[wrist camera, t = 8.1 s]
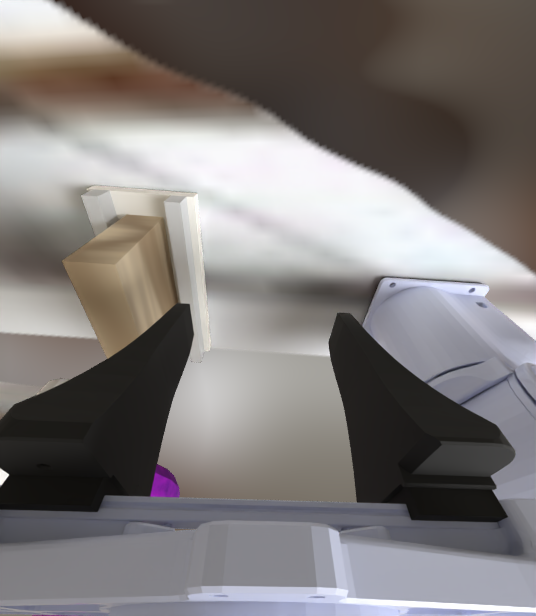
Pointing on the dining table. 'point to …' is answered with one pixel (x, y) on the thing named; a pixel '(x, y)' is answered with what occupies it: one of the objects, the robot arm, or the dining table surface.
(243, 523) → the robot arm
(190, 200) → the track board
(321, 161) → the dining table surface
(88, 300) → the tan rectangular block
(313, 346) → the dining table surface
